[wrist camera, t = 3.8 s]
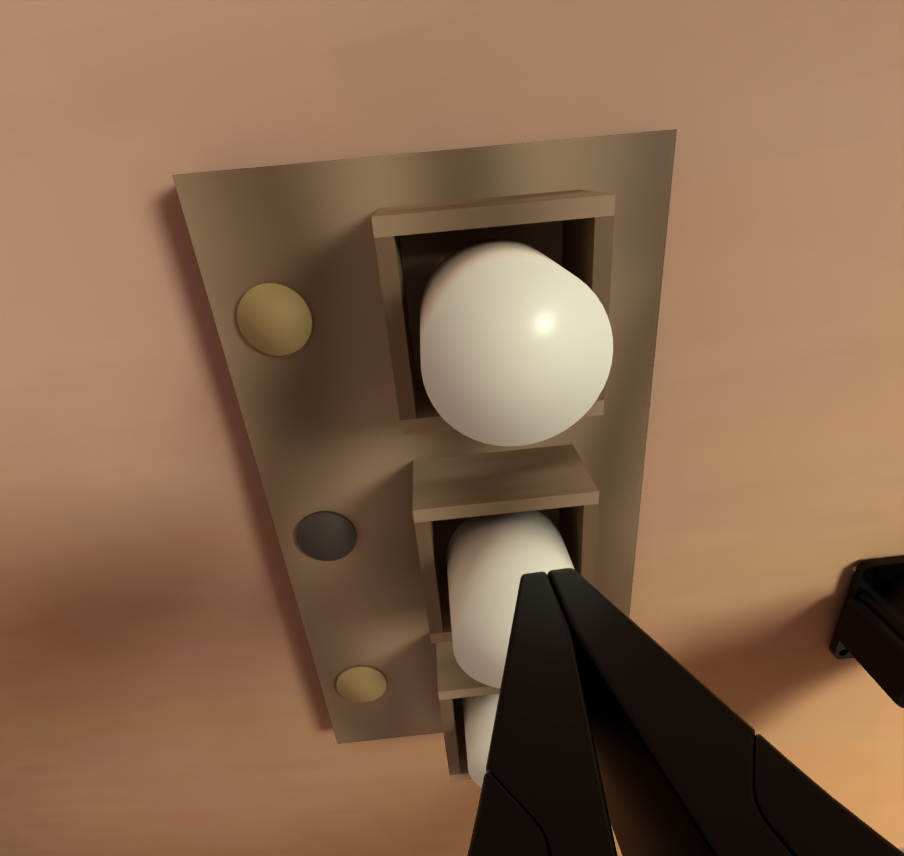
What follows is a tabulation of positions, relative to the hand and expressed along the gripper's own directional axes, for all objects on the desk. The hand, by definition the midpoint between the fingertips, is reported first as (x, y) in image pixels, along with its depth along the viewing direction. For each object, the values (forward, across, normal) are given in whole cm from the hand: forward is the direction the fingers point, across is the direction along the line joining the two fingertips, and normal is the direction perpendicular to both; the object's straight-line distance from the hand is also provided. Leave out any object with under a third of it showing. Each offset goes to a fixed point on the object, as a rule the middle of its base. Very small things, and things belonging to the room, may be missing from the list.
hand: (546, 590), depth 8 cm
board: (+12, +1, +7) cm, 14 cm away
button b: (+9, 0, +7) cm, 11 cm away
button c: (+9, -1, -2) cm, 9 cm away
